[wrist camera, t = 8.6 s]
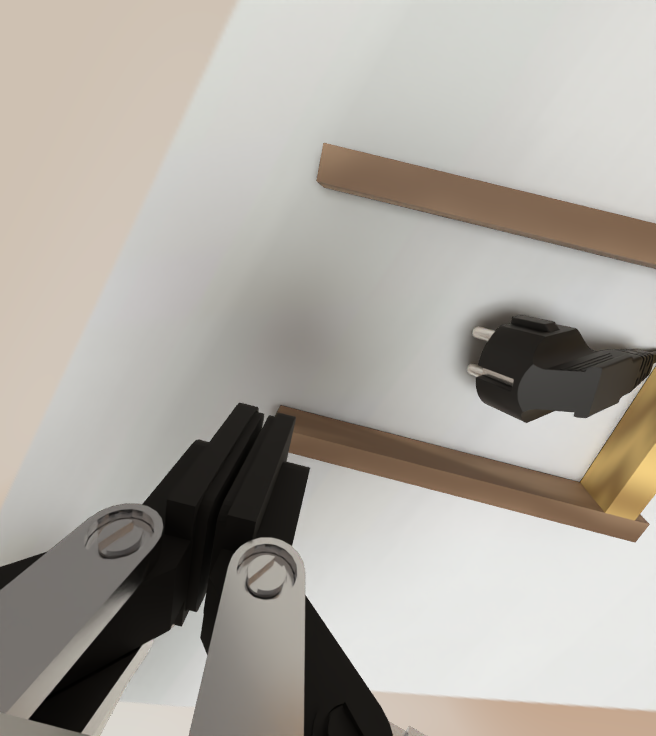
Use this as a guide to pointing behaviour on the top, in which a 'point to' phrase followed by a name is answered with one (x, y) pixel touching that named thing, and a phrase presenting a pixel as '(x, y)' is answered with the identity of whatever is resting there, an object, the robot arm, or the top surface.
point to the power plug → (552, 370)
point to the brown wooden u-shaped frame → (470, 472)
